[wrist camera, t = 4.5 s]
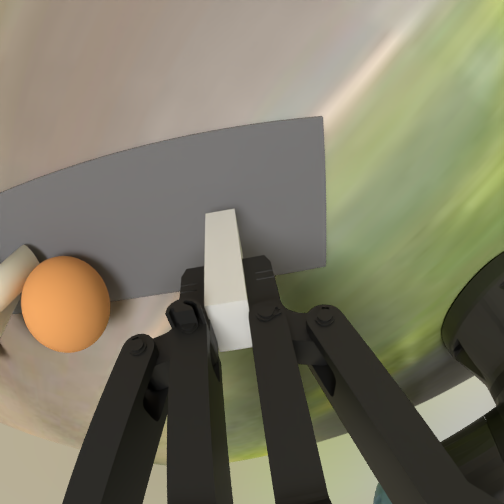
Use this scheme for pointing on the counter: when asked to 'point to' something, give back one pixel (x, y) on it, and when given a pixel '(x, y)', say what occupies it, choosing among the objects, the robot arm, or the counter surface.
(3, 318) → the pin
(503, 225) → the counter surface
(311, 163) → the grey flat board
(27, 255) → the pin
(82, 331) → the ball
